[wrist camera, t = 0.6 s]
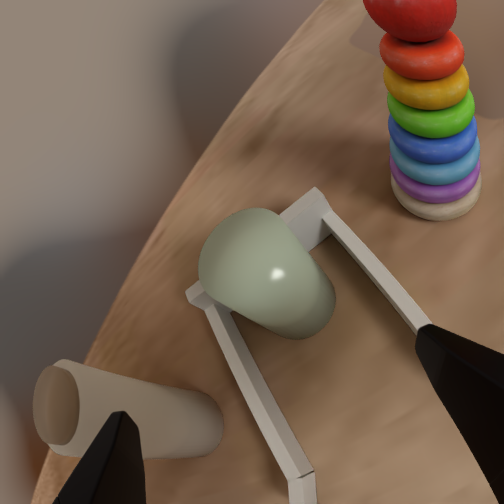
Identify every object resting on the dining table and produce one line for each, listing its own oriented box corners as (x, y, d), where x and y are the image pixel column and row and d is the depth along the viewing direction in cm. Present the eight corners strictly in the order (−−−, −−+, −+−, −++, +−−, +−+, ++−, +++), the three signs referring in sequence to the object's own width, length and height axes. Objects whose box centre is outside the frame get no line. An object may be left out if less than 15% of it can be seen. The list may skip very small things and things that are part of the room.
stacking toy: (436, 245, 22) (394, -9, 7) (374, 184, 27) (283, -19, 12) (498, 187, 20) (492, -43, 6) (434, 137, 25) (381, -58, 11)
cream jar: (232, 447, 22) (79, 447, 12) (178, 463, 23) (34, 457, 13) (212, 381, 26) (69, 341, 15) (163, 403, 27) (28, 372, 17)
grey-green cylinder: (348, 315, 23) (307, 265, 16) (279, 352, 24) (211, 322, 17) (316, 254, 27) (267, 190, 20) (255, 291, 28) (190, 243, 21)
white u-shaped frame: (493, 388, 15) (509, 383, 12) (306, 510, 17) (279, 528, 14) (342, 209, 27) (325, 177, 24) (207, 315, 29) (175, 299, 26)
